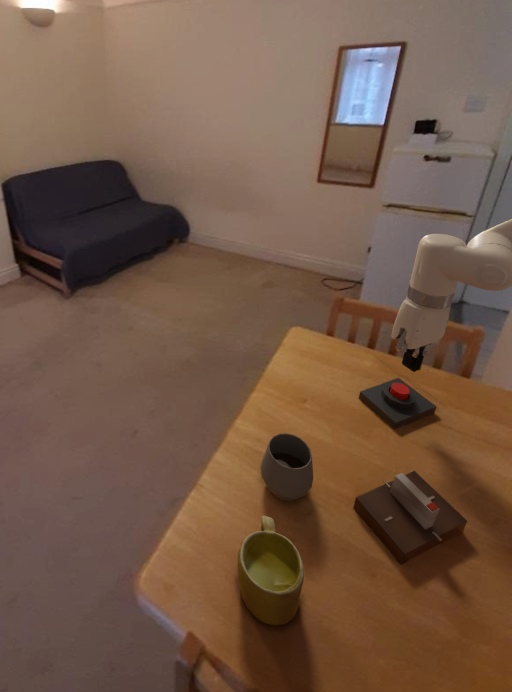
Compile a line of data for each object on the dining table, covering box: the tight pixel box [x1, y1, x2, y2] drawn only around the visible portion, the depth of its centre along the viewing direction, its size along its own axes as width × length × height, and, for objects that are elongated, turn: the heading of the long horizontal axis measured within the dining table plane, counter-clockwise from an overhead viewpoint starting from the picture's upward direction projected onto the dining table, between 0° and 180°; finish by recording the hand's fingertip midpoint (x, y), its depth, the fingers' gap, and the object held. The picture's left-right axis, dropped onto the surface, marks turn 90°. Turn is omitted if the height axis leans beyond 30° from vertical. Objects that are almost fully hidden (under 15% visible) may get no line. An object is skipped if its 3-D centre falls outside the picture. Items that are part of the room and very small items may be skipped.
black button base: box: [358, 377, 437, 431], centre depth 93 cm, size 12×10×4 cm
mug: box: [237, 515, 305, 626], centre depth 62 cm, size 12×10×10 cm
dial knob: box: [390, 472, 439, 530], centre depth 69 cm, size 7×2×5 cm, turn 20°
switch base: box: [353, 470, 468, 566], centre depth 70 cm, size 14×11×3 cm
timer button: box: [390, 383, 410, 400], centre depth 92 cm, size 4×4×2 cm
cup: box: [260, 432, 314, 502], centre depth 75 cm, size 10×9×10 cm
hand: (410, 367), depth 88 cm, fingers closed
